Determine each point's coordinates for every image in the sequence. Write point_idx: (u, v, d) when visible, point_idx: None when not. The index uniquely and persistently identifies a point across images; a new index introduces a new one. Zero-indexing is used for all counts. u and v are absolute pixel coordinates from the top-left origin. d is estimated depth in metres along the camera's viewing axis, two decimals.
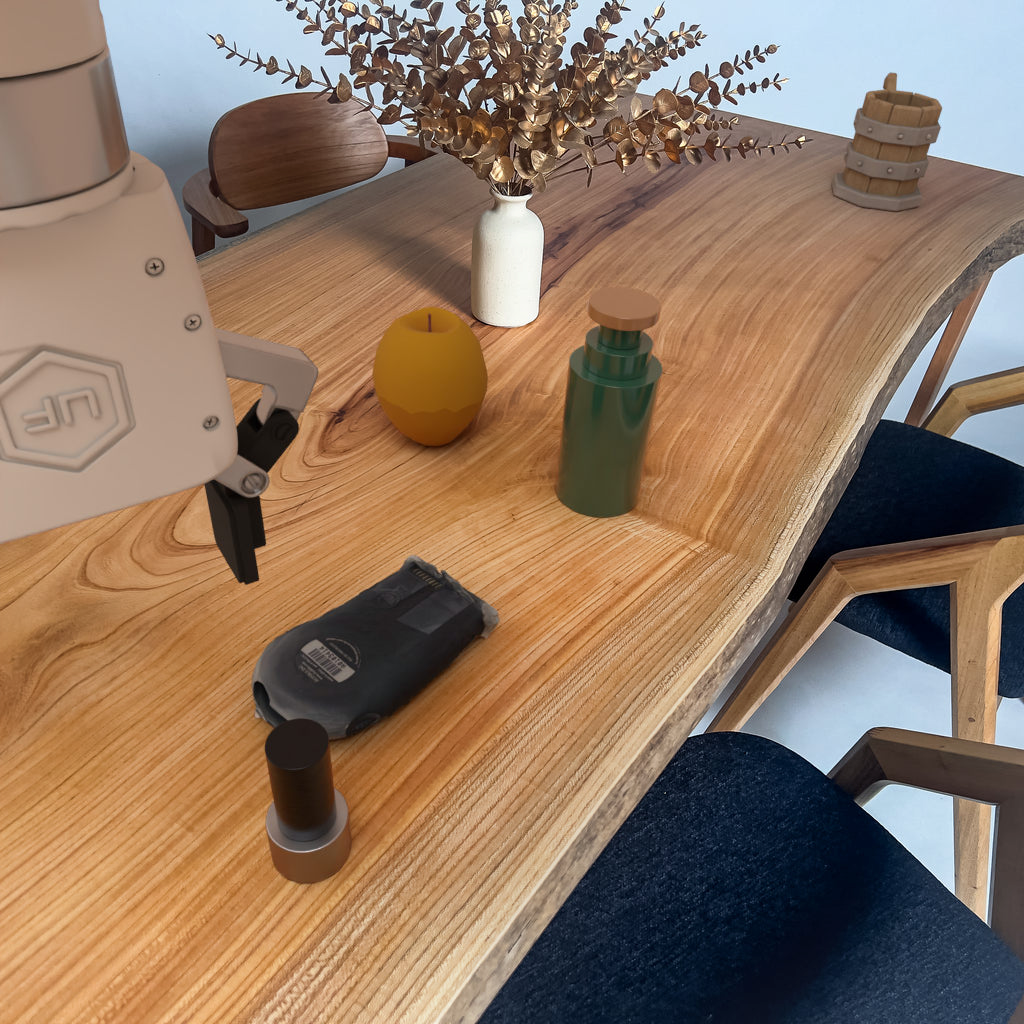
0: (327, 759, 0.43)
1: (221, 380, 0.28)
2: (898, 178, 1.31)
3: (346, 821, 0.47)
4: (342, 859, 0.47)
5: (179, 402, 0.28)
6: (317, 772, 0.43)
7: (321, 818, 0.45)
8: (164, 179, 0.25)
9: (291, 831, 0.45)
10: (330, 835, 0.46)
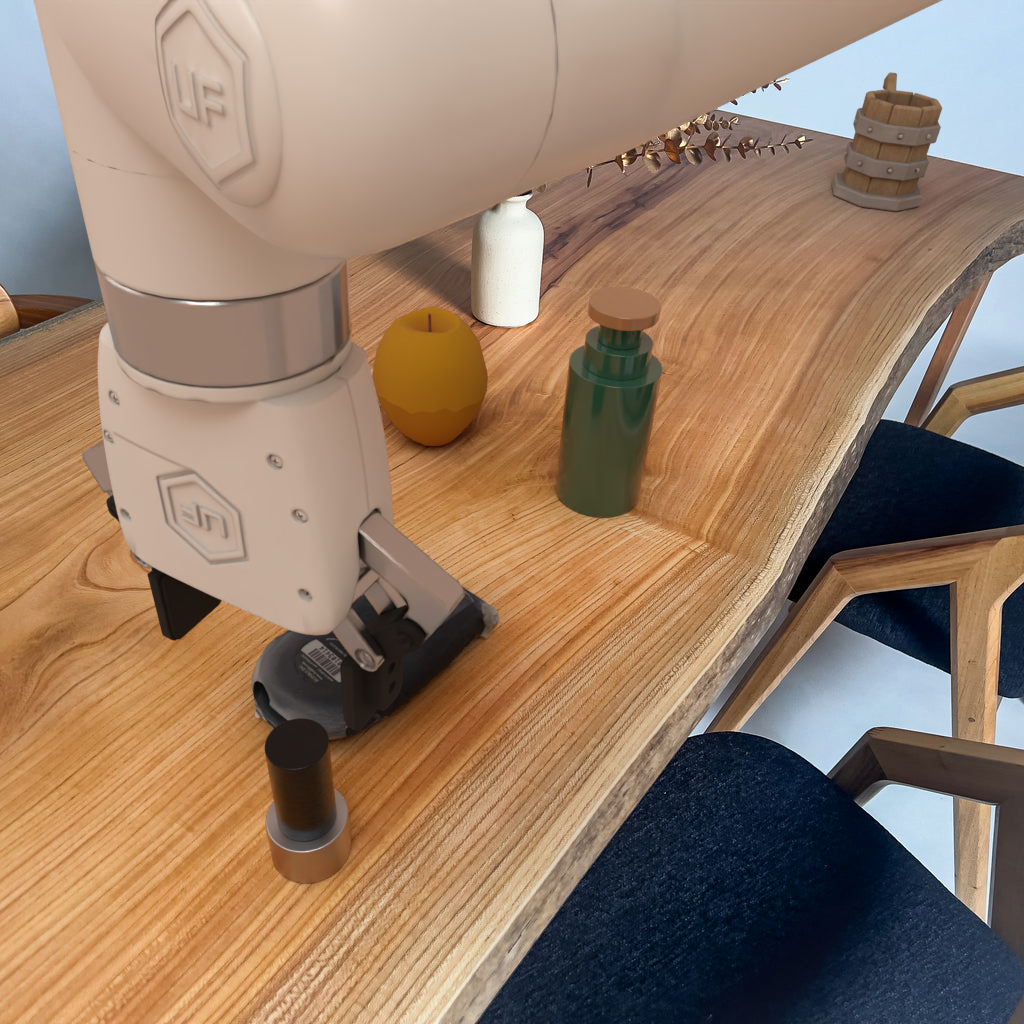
0: (327, 759, 0.43)
1: (319, 570, 0.30)
2: (898, 178, 1.31)
3: (346, 821, 0.47)
4: (342, 859, 0.47)
5: (281, 565, 0.31)
6: (317, 772, 0.43)
7: (321, 818, 0.45)
8: (315, 401, 0.28)
9: (291, 831, 0.45)
10: (330, 835, 0.46)
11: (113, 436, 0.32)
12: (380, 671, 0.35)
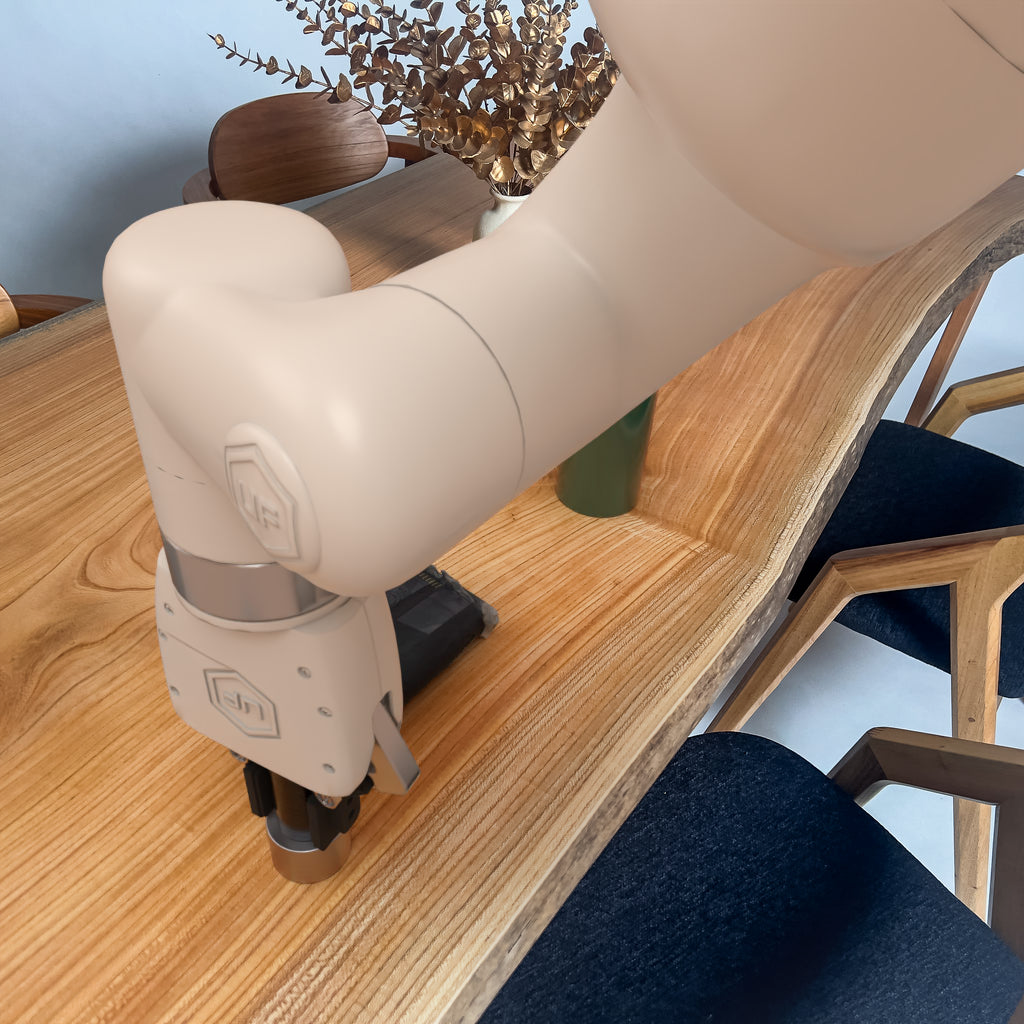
0: None
1: (341, 751, 0.36)
2: None
3: None
4: (342, 859, 0.47)
5: (309, 745, 0.37)
6: None
7: None
8: (338, 627, 0.34)
9: (291, 831, 0.45)
10: None
11: (167, 635, 0.38)
12: (339, 806, 0.43)
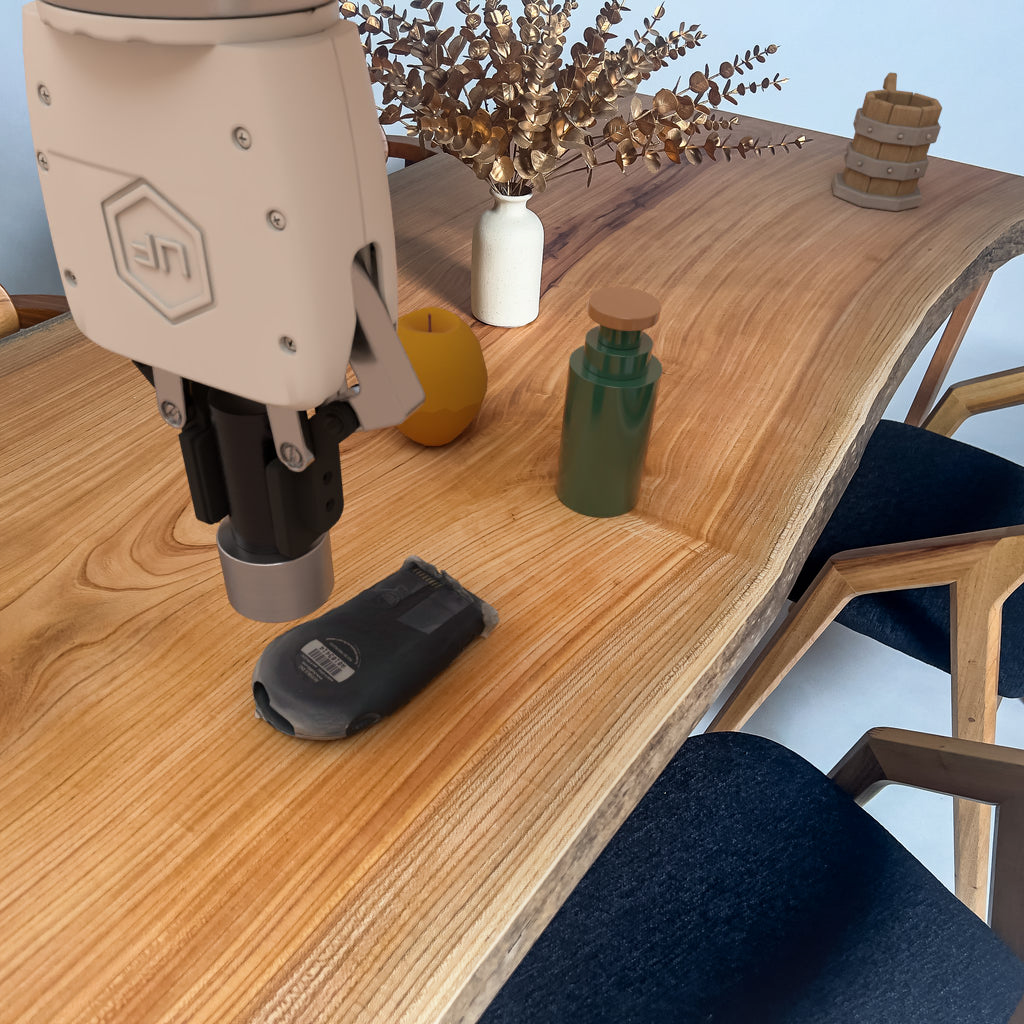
0: None
1: (303, 303, 0.24)
2: (898, 178, 1.31)
3: (326, 536, 0.34)
4: (321, 594, 0.35)
5: (257, 303, 0.25)
6: None
7: None
8: (291, 47, 0.21)
9: (248, 536, 0.33)
10: None
11: (48, 157, 0.25)
12: (312, 477, 0.31)
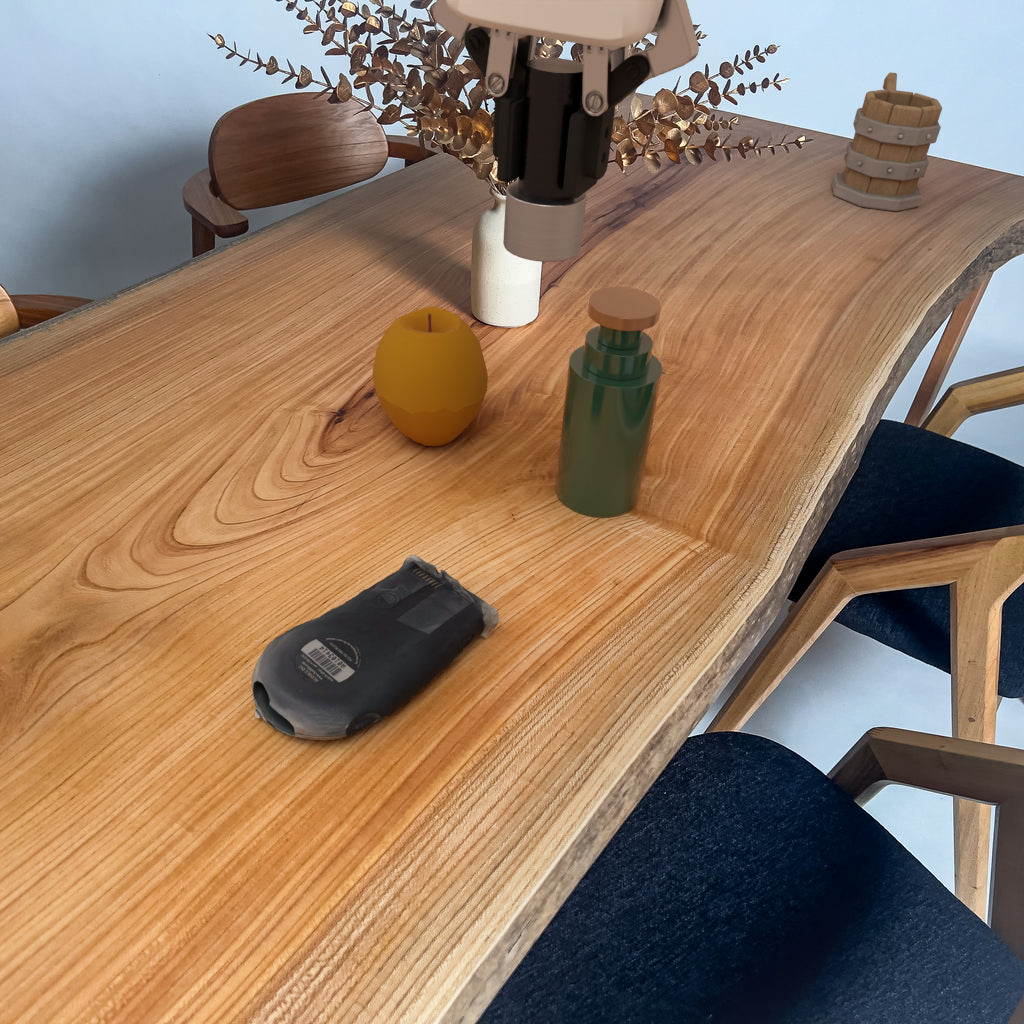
0: None
1: None
2: (898, 178, 1.31)
3: (586, 195, 0.47)
4: (578, 244, 0.48)
5: None
6: (579, 89, 0.43)
7: None
8: None
9: (539, 184, 0.45)
10: (574, 199, 0.46)
11: None
12: (601, 125, 0.43)
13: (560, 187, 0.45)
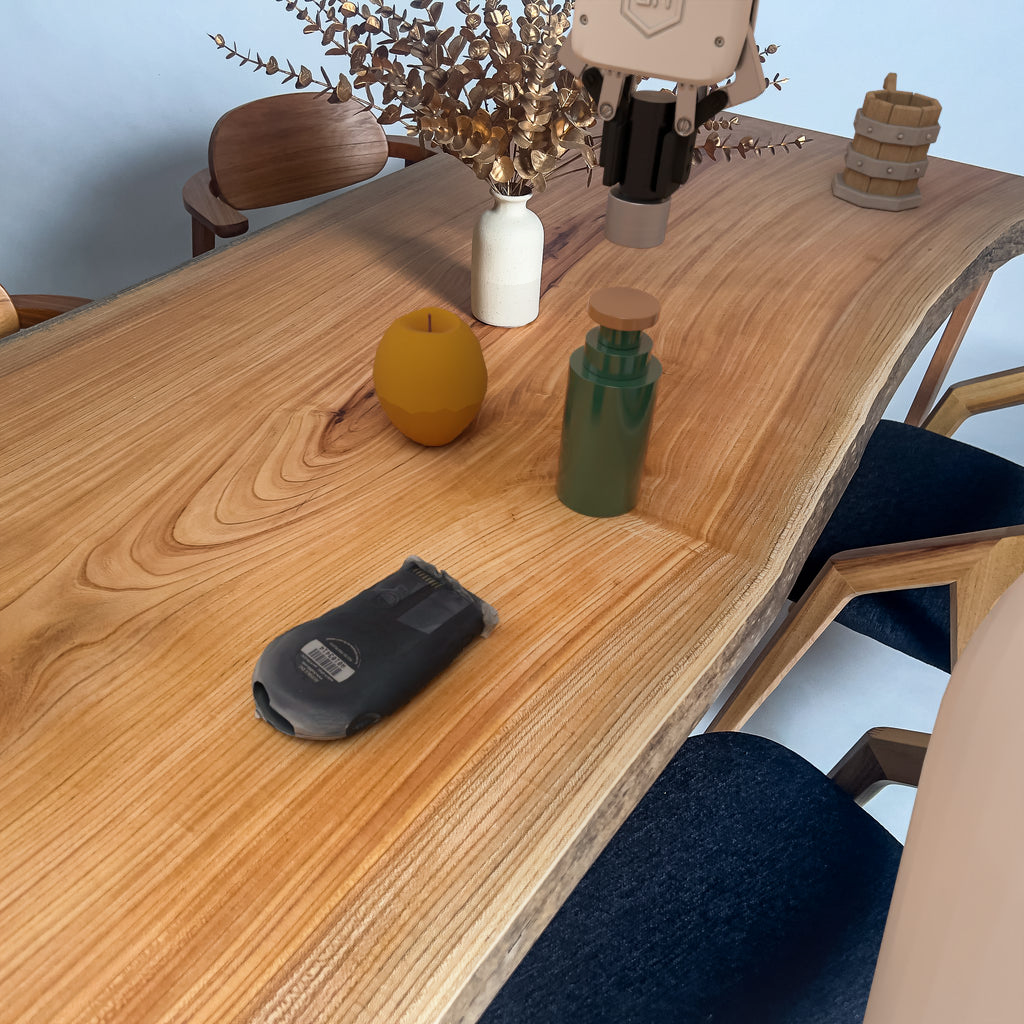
0: None
1: (735, 16, 0.50)
2: (898, 178, 1.31)
3: (671, 197, 0.60)
4: (664, 235, 0.61)
5: (708, 18, 0.50)
6: (672, 115, 0.56)
7: None
8: None
9: (637, 188, 0.58)
10: (663, 200, 0.59)
11: None
12: (688, 143, 0.56)
13: (653, 190, 0.58)
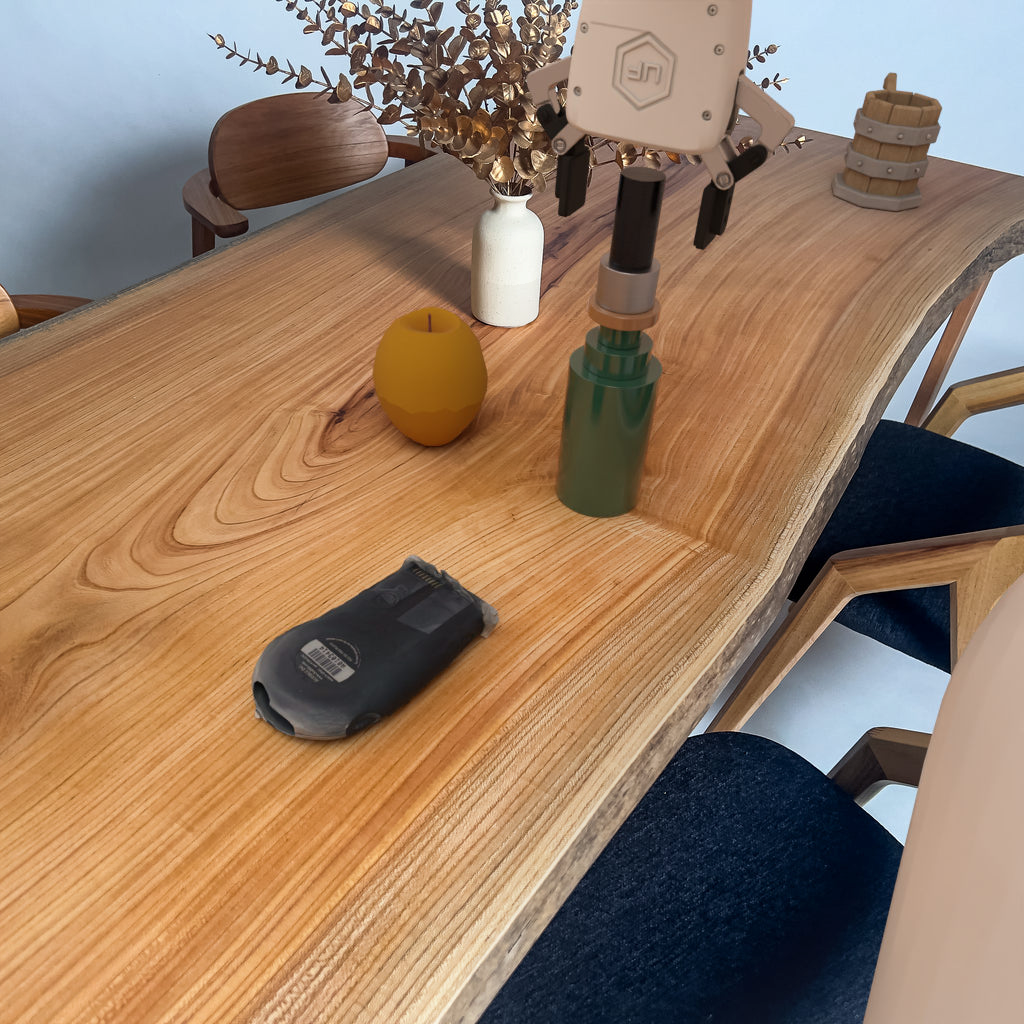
0: None
1: (721, 92, 0.52)
2: (898, 178, 1.31)
3: (660, 265, 0.63)
4: (653, 300, 0.64)
5: (695, 94, 0.52)
6: (660, 192, 0.59)
7: (650, 248, 0.61)
8: None
9: (627, 258, 0.61)
10: (652, 269, 0.62)
11: (589, 25, 0.53)
12: (727, 196, 0.57)
13: (642, 260, 0.61)
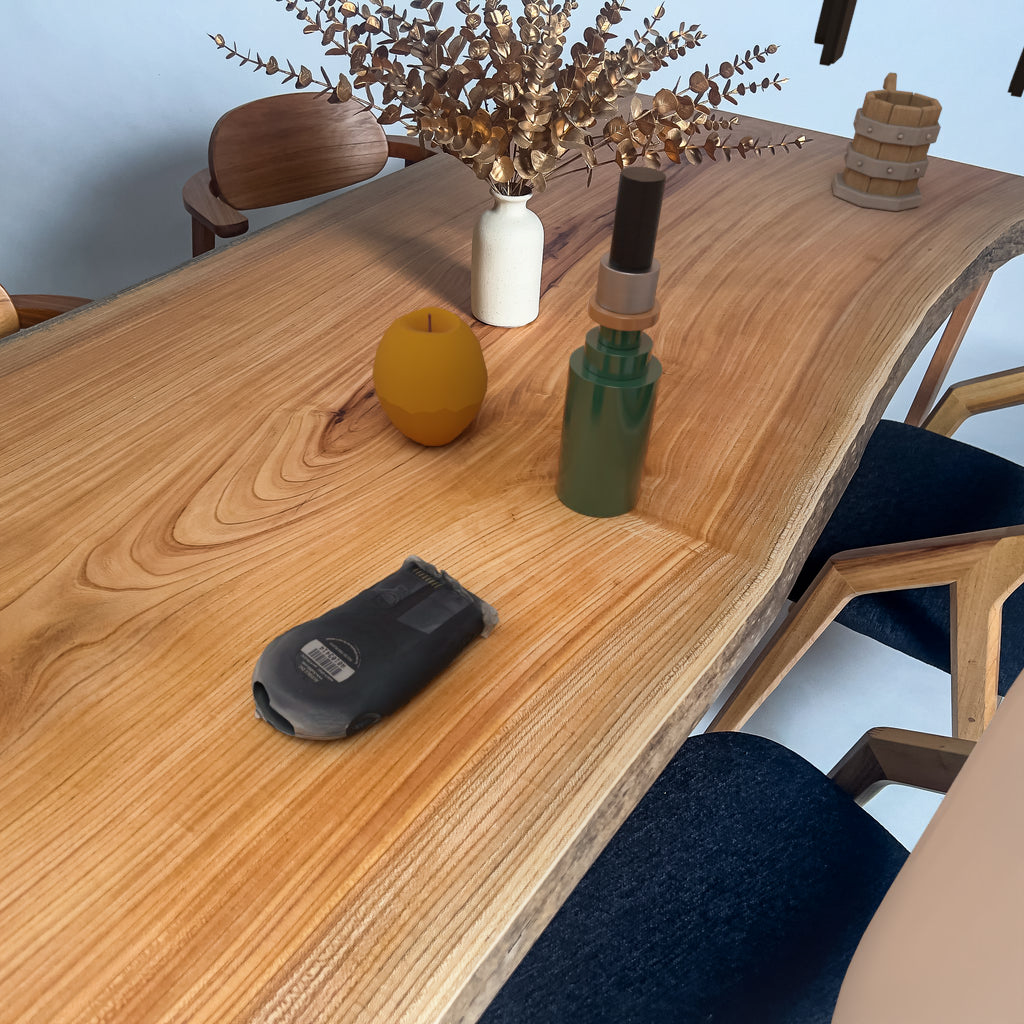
0: None
1: None
2: (898, 178, 1.31)
3: (660, 265, 0.63)
4: (653, 300, 0.64)
5: None
6: (660, 192, 0.59)
7: (650, 248, 0.61)
8: None
9: (627, 258, 0.61)
10: (652, 269, 0.62)
11: None
12: None
13: (642, 260, 0.61)
